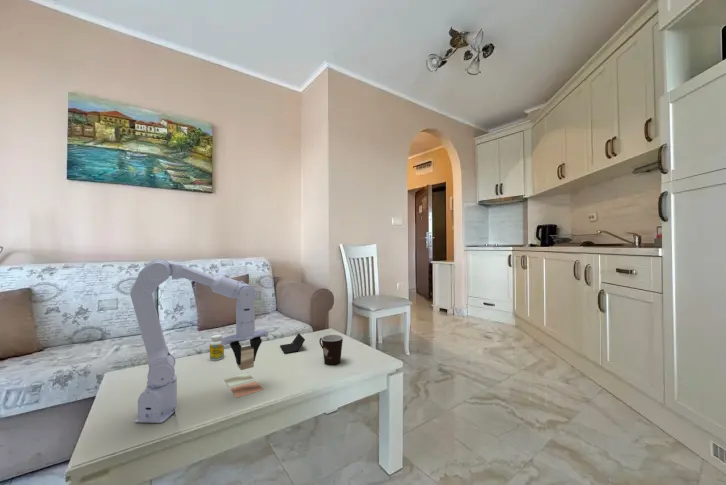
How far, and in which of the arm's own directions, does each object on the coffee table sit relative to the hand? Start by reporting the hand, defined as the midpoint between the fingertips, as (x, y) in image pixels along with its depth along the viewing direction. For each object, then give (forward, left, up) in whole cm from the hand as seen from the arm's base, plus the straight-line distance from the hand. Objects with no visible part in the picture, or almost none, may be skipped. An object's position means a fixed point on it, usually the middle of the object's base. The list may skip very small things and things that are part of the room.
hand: (245, 362), depth 99 cm
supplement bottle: (+28, +24, -10) cm, 38 cm away
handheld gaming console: (+40, -5, -10) cm, 41 cm away
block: (0, 0, -2) cm, 2 cm away
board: (+3, +2, -10) cm, 10 cm away
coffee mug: (+26, -25, -10) cm, 37 cm away
